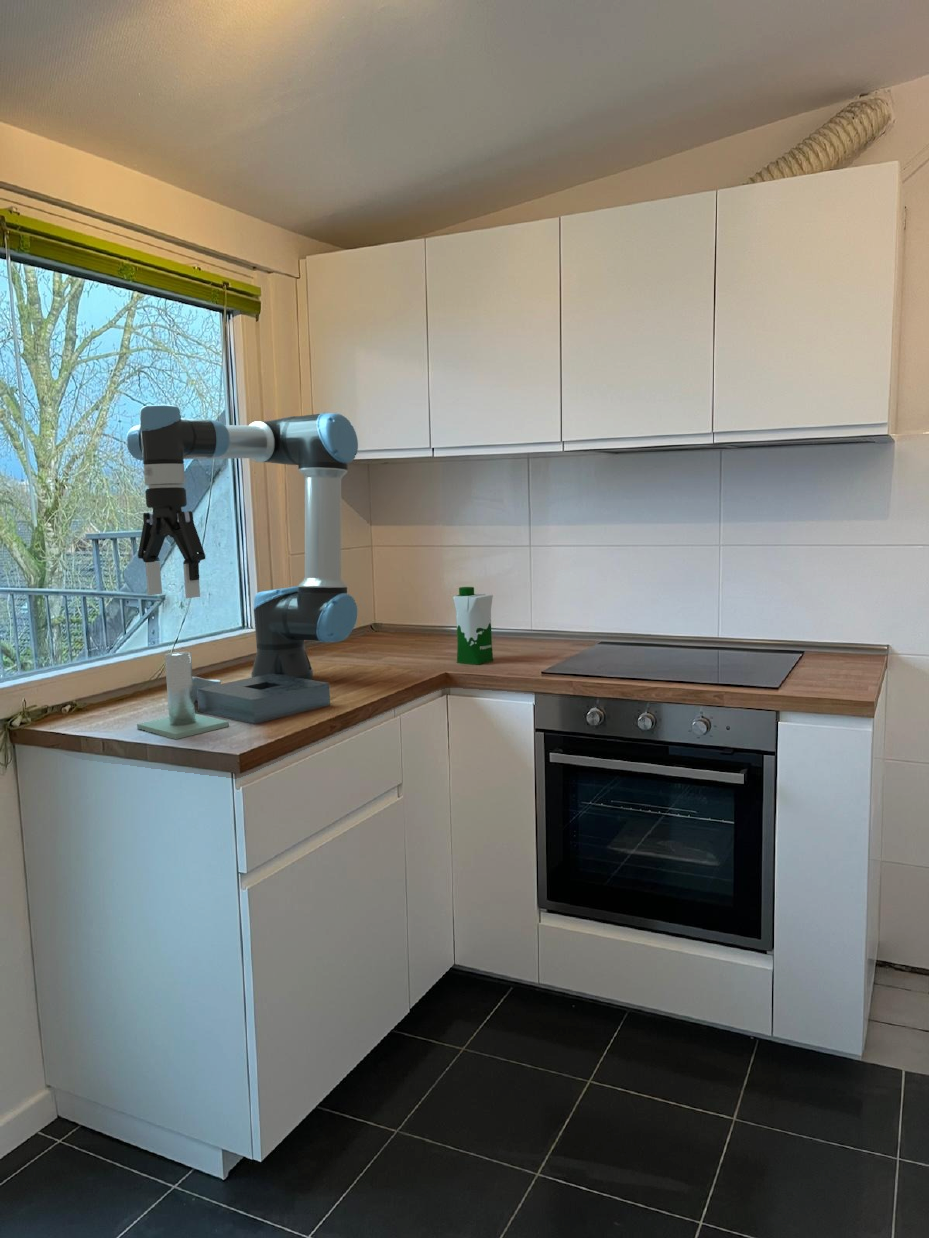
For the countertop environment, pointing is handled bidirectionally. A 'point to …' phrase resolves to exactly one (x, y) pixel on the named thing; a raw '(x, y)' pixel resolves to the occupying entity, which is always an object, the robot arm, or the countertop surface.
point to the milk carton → (473, 627)
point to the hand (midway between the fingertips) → (173, 596)
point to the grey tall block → (180, 688)
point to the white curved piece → (202, 684)
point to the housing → (263, 698)
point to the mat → (178, 732)
